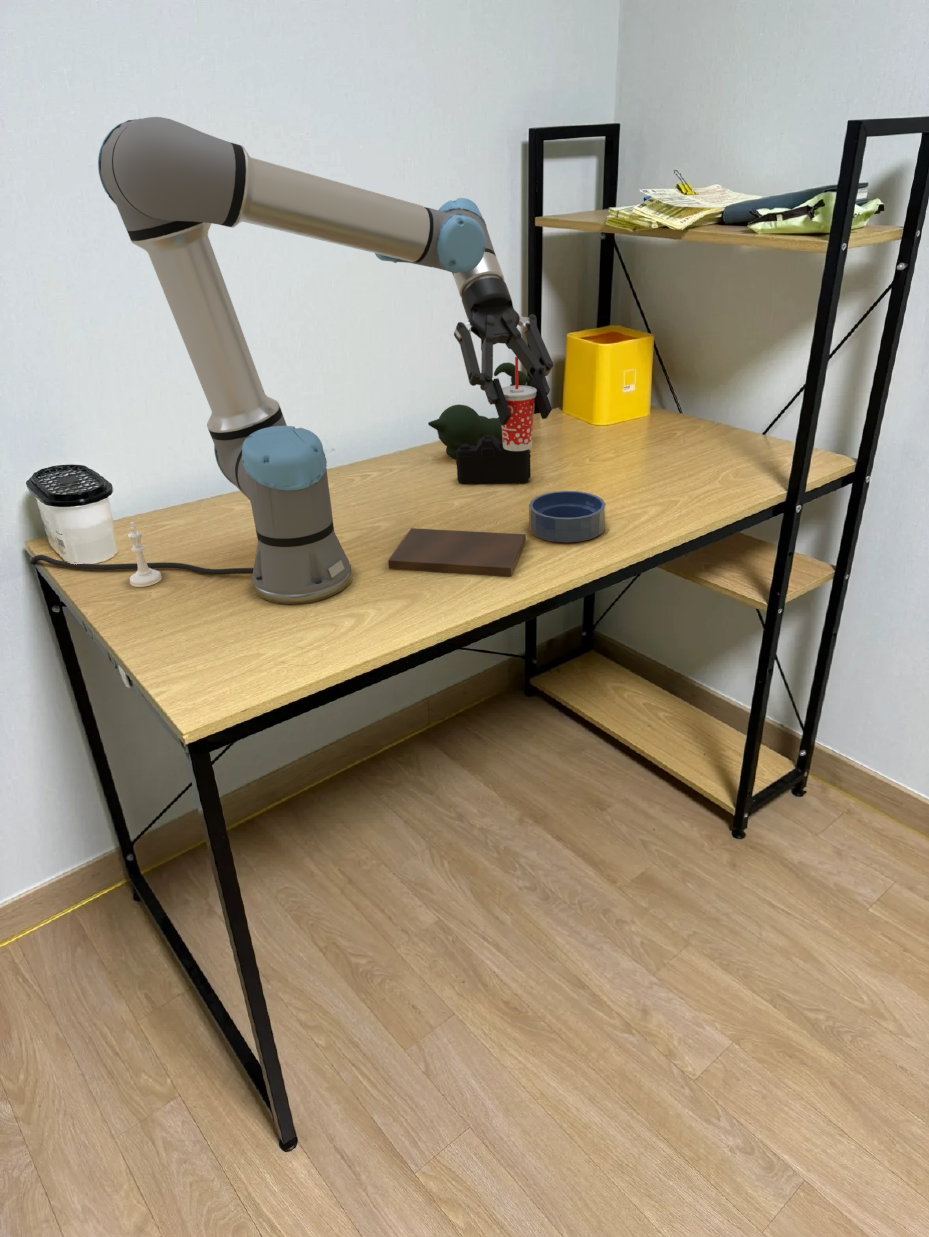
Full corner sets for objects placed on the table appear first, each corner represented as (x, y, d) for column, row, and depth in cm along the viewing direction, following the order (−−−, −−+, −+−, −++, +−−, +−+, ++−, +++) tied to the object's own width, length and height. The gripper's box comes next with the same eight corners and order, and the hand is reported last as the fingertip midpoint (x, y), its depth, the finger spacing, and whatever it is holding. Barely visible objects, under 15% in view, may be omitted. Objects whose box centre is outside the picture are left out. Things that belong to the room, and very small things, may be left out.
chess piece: (129, 589, 138) (114, 530, 133) (130, 576, 142) (115, 519, 137) (161, 584, 139) (147, 526, 134) (162, 571, 143) (148, 514, 138)
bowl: (523, 542, 146) (523, 517, 144) (536, 512, 157) (536, 489, 155) (600, 546, 144) (601, 520, 141) (607, 516, 154) (608, 492, 152)
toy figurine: (509, 442, 198) (415, 457, 185) (513, 357, 190) (416, 366, 177) (535, 452, 192) (440, 468, 178) (540, 364, 183) (441, 374, 170)
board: (388, 568, 140) (387, 560, 139) (411, 536, 151) (411, 528, 150) (511, 576, 135) (511, 567, 135) (525, 542, 146) (525, 534, 146)
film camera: (532, 468, 178) (531, 425, 174) (530, 485, 170) (529, 440, 165) (458, 469, 180) (455, 426, 175) (453, 485, 171) (450, 441, 167)
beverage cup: (492, 443, 141) (490, 355, 134) (527, 438, 143) (527, 351, 136) (506, 454, 136) (505, 363, 129) (542, 449, 137) (543, 359, 131)
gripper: (530, 300, 145) (574, 421, 140) (421, 311, 140) (462, 438, 134) (544, 269, 138) (591, 396, 133) (431, 280, 133) (474, 413, 127)
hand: (526, 417), depth 133 cm, fingers closed on beverage cup, 6 cm apart
